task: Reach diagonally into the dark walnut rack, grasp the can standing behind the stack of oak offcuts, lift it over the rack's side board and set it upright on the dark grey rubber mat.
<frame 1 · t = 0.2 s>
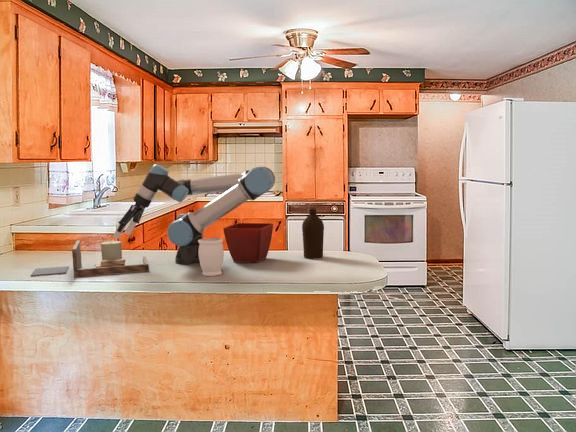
hand: (121, 235, 236), 15 cm above the countertop, tool tilted 35°, fingers open, 13 cm apart
olive oil: (313, 257, 254), on the countertop
can: (112, 267, 240), on the countertop
offcut stack: (112, 272, 231), on the countertop
mat: (50, 271, 232), on the countertop
plant pot: (249, 260, 250), on the countertop
rack: (112, 268, 236), on the countertop
jar: (211, 274, 221), on the countertop
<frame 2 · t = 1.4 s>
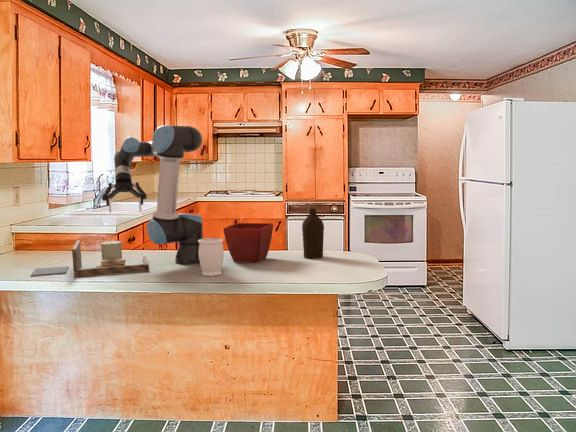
hand: (125, 210, 243), 26 cm above the countertop, tool tilted 45°, fingers open, 13 cm apart
nothing on the countertop moved.
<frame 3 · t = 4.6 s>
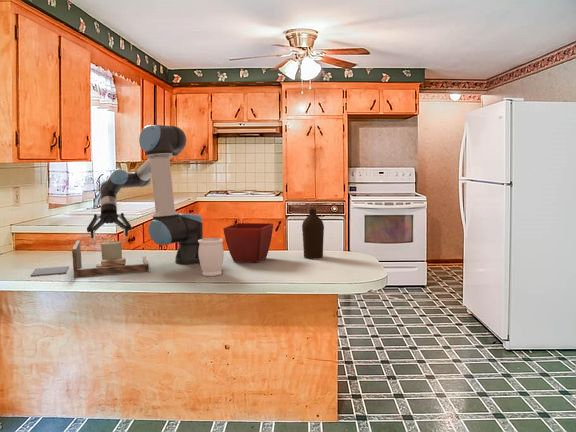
hand: (109, 242, 245), 11 cm above the countertop, tool tilted 45°, fingers open, 13 cm apart
nothing on the countertop moved.
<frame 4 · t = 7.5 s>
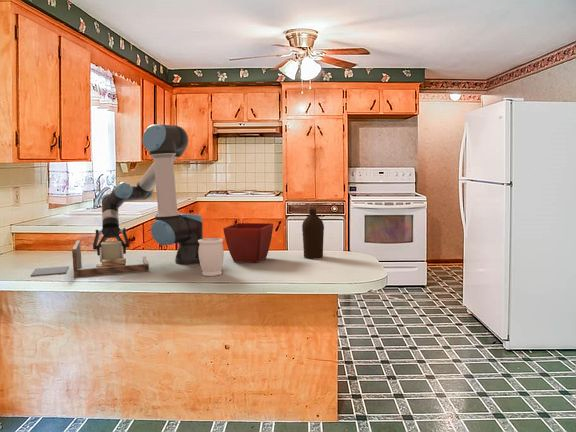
hand: (111, 259, 236), 4 cm above the countertop, tool tilted 45°, fingers closed on can, 9 cm apart
can: (112, 267, 240), on the countertop, touching gripper
everything else where it was.
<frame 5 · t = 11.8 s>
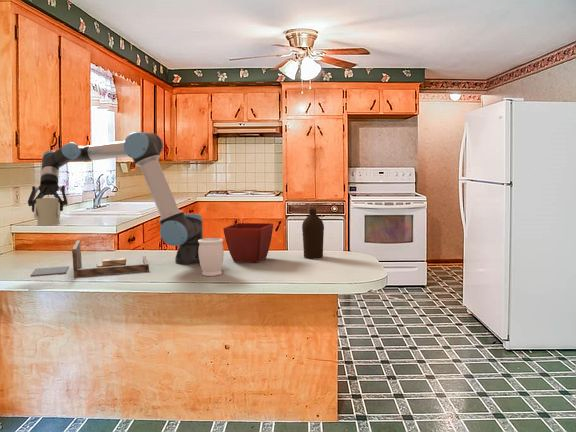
hand: (47, 216, 227), 25 cm above the countertop, tool tilted 45°, fingers closed on can, 9 cm apart
can: (48, 224, 230), point 21 cm above the countertop, touching gripper
when the fingers open (6 cm above the countertop, at t = 16.1 s): can drops 1 cm, resting on mat.
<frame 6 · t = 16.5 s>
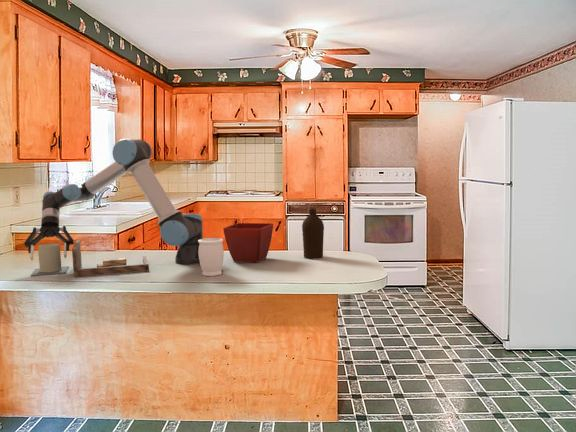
hand: (48, 257, 229), 7 cm above the countertop, tool tilted 45°, fingers open, 13 cm apart
can: (50, 270, 232), resting on mat
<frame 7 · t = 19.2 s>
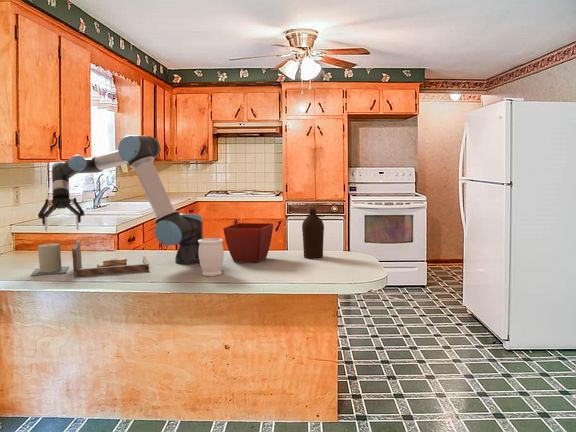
hand: (62, 229, 244), 17 cm above the countertop, tool tilted 35°, fingers open, 13 cm apart
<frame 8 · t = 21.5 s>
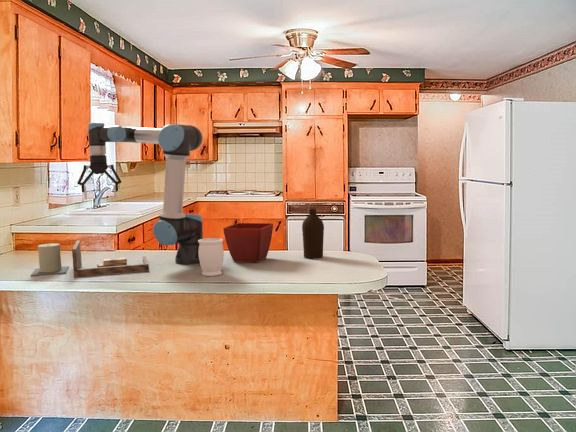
hand: (100, 198, 254), 31 cm above the countertop, tool pointing down, fingers open, 13 cm apart
at the end: can inside the target area on the mat (0.3 cm from its centre), point 0.4 cm above the mat's base; can tilted 0°; offcut stack moved 2.0 cm from its start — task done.
